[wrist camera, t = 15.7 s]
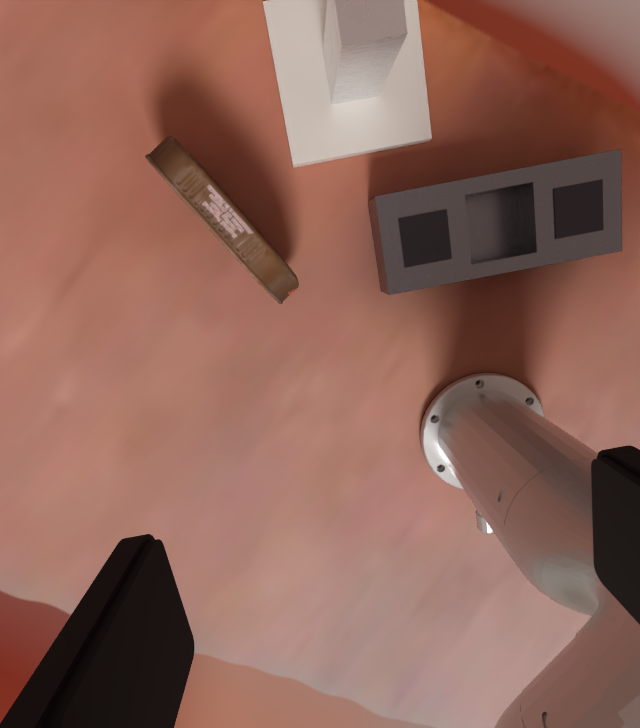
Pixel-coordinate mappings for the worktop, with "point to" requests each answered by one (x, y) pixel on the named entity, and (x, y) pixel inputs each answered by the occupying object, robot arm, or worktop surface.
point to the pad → (350, 119)
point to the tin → (223, 218)
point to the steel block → (361, 46)
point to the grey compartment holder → (498, 222)
